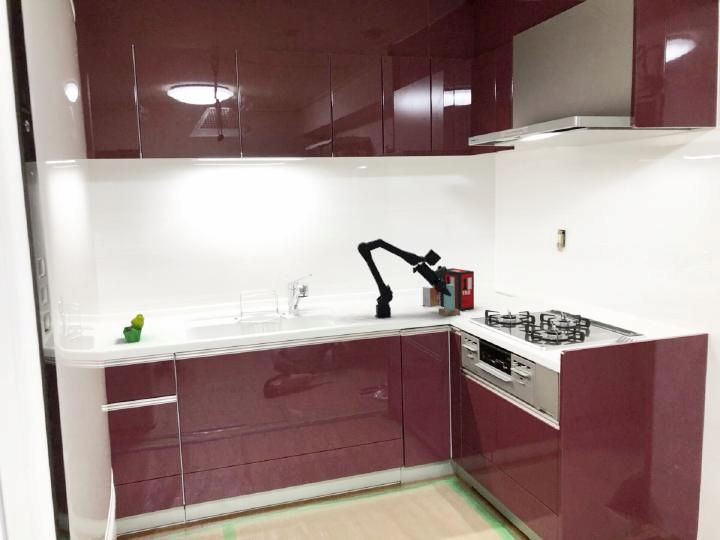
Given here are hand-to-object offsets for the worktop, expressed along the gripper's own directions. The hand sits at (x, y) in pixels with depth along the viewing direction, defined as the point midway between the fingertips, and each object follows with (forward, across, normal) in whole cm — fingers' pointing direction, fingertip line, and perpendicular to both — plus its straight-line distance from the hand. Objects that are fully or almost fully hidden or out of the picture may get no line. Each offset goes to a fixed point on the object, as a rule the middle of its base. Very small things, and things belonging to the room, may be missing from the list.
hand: (449, 294), depth 293 cm
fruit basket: (-95, -29, +111) cm, 149 cm away
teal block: (+6, 0, +6) cm, 8 cm away
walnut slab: (+7, 0, +7) cm, 10 cm away
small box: (+4, +25, +11) cm, 27 cm away
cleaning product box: (+12, +16, +2) cm, 20 cm away
